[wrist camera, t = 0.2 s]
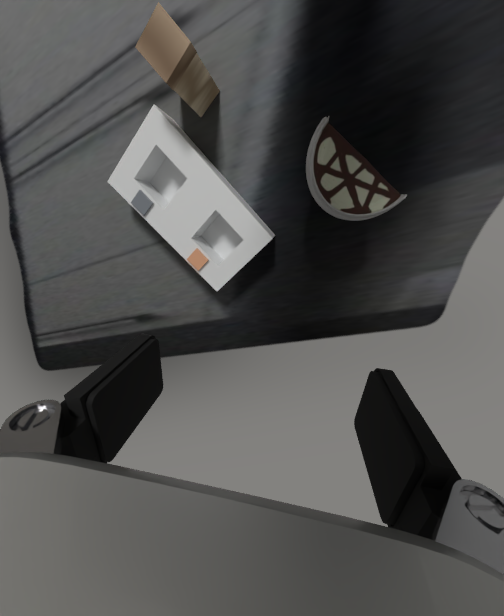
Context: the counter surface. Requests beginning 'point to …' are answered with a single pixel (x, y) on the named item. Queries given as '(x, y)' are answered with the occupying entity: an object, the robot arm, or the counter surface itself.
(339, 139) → the food container
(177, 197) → the socket block
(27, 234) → the counter surface
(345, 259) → the counter surface
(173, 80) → the plug
